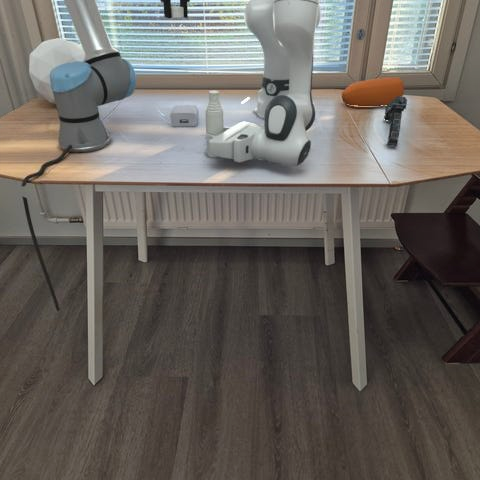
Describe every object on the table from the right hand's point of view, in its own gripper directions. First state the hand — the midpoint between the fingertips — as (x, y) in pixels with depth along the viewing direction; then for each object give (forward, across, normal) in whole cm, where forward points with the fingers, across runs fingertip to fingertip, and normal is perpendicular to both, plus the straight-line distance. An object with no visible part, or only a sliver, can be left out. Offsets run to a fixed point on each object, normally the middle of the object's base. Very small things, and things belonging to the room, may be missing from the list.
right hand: (212, 133), depth 120 cm
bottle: (-1, 0, +6) cm, 7 cm away
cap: (+7, +4, -32) cm, 33 cm away
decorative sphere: (+76, -13, +6) cm, 78 cm away
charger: (+25, -22, +6) cm, 34 cm away
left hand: (+7, +4, -30) cm, 31 cm away
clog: (-29, -76, +6) cm, 81 cm away
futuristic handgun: (-43, -46, +6) cm, 63 cm away
